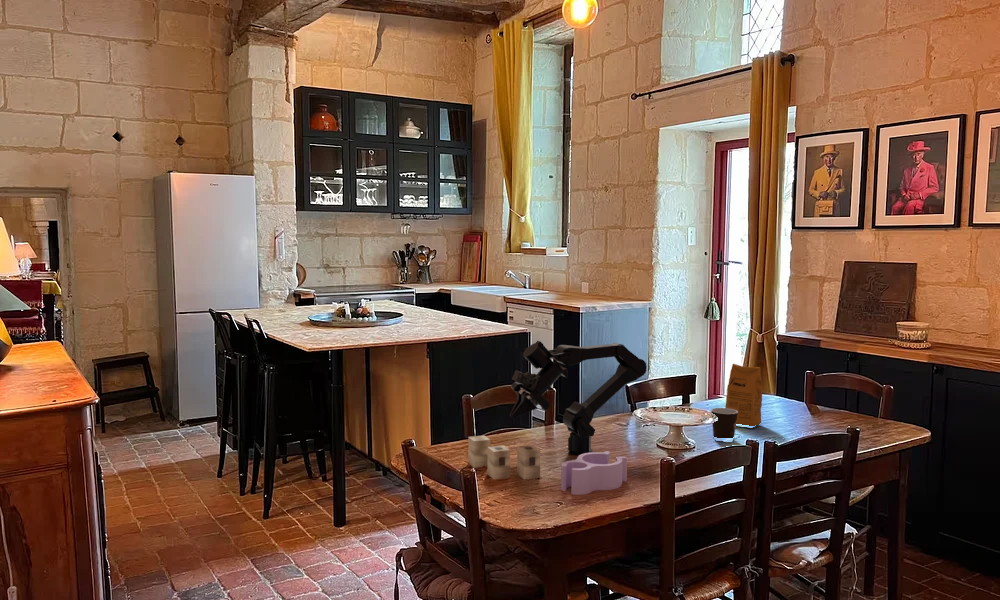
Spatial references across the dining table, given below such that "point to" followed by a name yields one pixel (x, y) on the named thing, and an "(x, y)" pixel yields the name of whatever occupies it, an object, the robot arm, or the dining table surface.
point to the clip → (593, 473)
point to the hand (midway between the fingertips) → (511, 416)
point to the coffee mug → (724, 422)
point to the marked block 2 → (528, 462)
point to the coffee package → (745, 394)
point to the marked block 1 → (498, 462)
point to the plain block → (478, 451)
